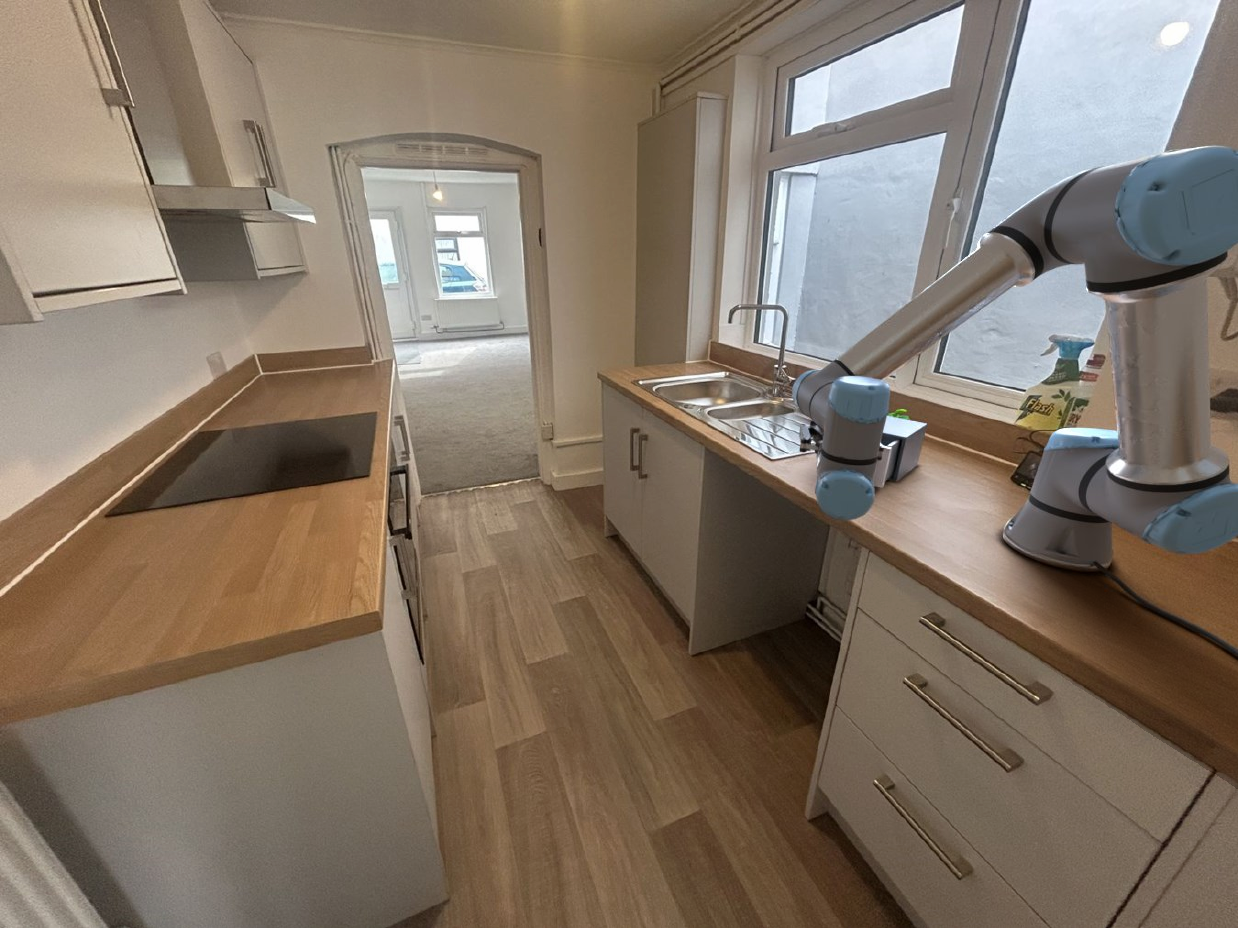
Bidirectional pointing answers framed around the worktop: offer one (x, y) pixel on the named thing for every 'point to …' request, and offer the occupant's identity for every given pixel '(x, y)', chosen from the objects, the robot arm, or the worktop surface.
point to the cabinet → (905, 443)
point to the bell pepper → (898, 415)
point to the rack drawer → (887, 460)
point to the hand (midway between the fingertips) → (838, 422)
